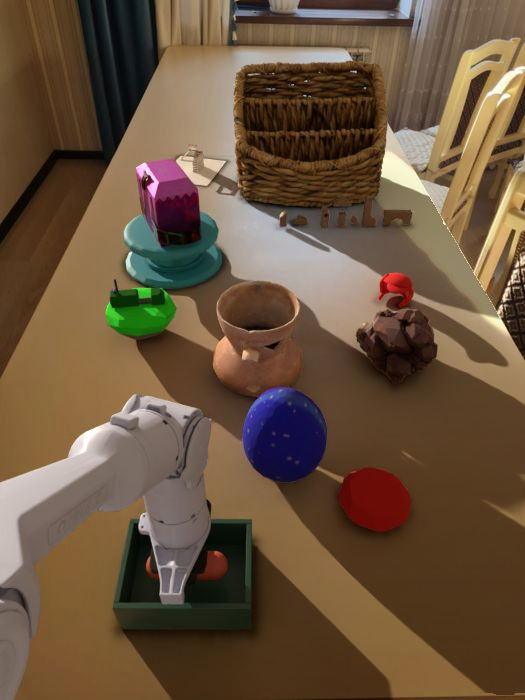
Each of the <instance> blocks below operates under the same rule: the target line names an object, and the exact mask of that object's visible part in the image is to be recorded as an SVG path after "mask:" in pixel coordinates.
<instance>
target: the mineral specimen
mask: <svg viewBox="0 0 525 700" xmlns="http://www.w3.org/2000/svg"><path fill="white" fill-rule="evenodd" d="M429 322H430V317H428V316H427V315H426V314H425V313H424V312H423V311H422V310H421V309H418V308H413V309H412V308H409V307H405V308H399V309H398V310H391V309H390V308H381V309H380V310H378V311H377V312H375V314H374V317H373V322H368V321H367V322H363V323H362V325H361V326H360V327H359V328H357V330H356V333H355V337H356V342H357V343H358V344H359V348H360V349H361V350H362V351H363V353H364V352H365V353H366V356H367V358H368V359H369V361H371V365H372V366H373V367H374V368H375V369H376V370H377V371H378V372H381V373H383V375H384V376H387V377H388V379H389V380H390V382H391V383H392V384H398V383H400V382H401V383H402V382H403V381H404V379H405V377H406V376H409V375H418V374H419V372H423V371H424V369H425V368H427V367H428V366H429V365H431V364H433V360H434V359H437V356H438V345H439V344H438V343H436V342H435V330H434V329H433V327H432V325H430V323H429Z"/></svg>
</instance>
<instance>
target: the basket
mask: <svg viewBox="0 0 525 700" xmlns="http://www.w3.org/2000/svg"><path fill="white" fill-rule="evenodd" d="M233 88H234V90H233V101H234V103H233V109H232V113H233V114H232V115H233V122H234V124H233V128H234V138H235V141H234V154H235V164H236V166H235V169H236V176H237V177H236V178H238V179H237V188H238V189H239V190H238V194H239V195H240V197H241V198H242V199H243V200H245V201H255V202H260V203H262V202H263V204H264V203H265V204H273V205H283V206H286V207H289V206H292V207H297V206H299V207H305V208H308V207H314V206H315V207H318V208H319V207H322V206H325V207H327V208H330V206H333V207H335V206H334V205H333V203H334V202H335V201H336V200H337V199H338V198H339V197H341V196H342V195H344V196H345V197H346V198H347V199H348V200H349V201H350V202H351V204H355V203H356V204H359V203H362V202H364V201H365V198H372V199H373V198H375V197H377V196H378V195H379V193H380V187H381V183H380V181H382V179H381V176H382V173H383V172H382V169H383V164H384V158H385V155H386V148H387V132H388V126H389V124H388V122H389V120H388V117H387V116H388V110H387V100H386V98H387V97H386V93H387V92H386V89H385V82H384V73H383V71H382V67H381V65H380V64H378V63H376V62H366V61H361V60H360V61H356V60H346V61H339V62H338V61H337V62H336V61H329V62H327V61H317V62H315V61H312V62H308V63H304V62H302V63H299V62H295V63H294V62H292V63H290V62H281V61H277V62H266V63H265V62H262V63H251V64H245V65H243V66H242V67H240V69H239V70H237V72H235V77H234V84H233Z"/></svg>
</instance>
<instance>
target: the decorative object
mask: <svg viewBox="0 0 525 700" xmlns="http://www.w3.org/2000/svg"><path fill="white" fill-rule="evenodd" d="M135 175H136V182H137V187H138V195H139V197H138V198H139V205H140V211H141V214H140V215H138V216H135V217H134V218H133V219H132V220H130V221H129V222H128V223H127V224H126V226H125V228H124V229H123V233H122V235H123V242H124V245H125V246H126V247H127V248H128V250H129V252H128V255H127V257H126V259H125V266H126V271H127V273H128V275H130V277H131V278H132V279H133V280H134V281H136V282H137V283H140V284H141V285H143V286H147V287H150V288H162V289H163V290H164V289H167V290H176V289H185V288H190V287H193V286H195V285H198V284H201V283H205V282H206V281H207V280H210V279H211V278H212V277H214V276H215V275H216V274H217V272H218V271H219V270H220V269H221V268H222V263H223V254H222V251H221V249H220V247H219V246H218V245H216V244H215V243H216V242H217V240H218V237H219V232H220V231H219V230H220V229H219V227H218V225H217V221H216V220H215V219H213V218H212V217H211V216H210V215H209V214H208V213H206V212H203V211H201V209H200V195H199V188H198V187H197V186H196V184H193V182H192V181H191V180H190V179H189V177H188V176H187V175H186V174H185V172H184V171H183V170H182V169H181V167H180V166H179V165H178V164H177V162H176V160H175V159H174V158H173V157H170V158H165V159H158V160H153V161H147V162H144V163H142V164H140V165H139V166H137V167H135Z"/></svg>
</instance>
